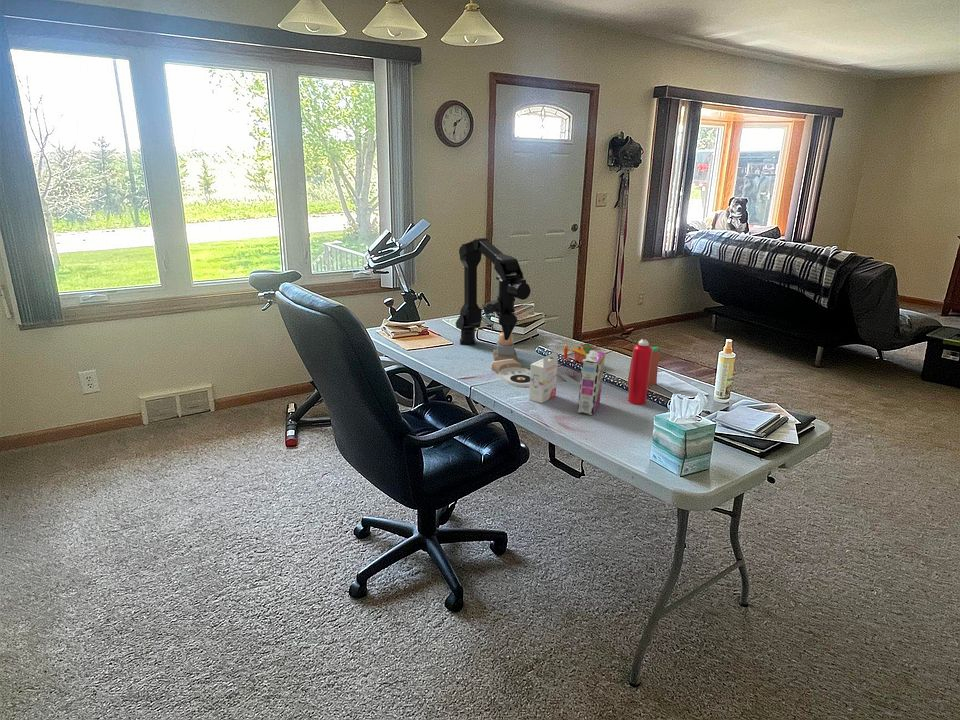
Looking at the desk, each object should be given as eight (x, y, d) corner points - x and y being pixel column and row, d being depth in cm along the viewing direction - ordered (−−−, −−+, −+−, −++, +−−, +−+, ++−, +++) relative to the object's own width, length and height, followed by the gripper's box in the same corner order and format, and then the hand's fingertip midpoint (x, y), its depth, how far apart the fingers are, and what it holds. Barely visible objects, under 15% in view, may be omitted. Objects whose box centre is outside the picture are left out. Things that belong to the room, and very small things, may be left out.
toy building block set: (631, 391, 186) (635, 350, 181) (558, 361, 213) (560, 324, 209) (656, 384, 193) (661, 344, 188) (582, 356, 220) (585, 320, 215)
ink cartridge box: (542, 391, 184) (545, 347, 179) (556, 395, 181) (559, 351, 177) (528, 399, 178) (530, 354, 173) (542, 403, 175) (544, 358, 170)
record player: (516, 357, 207) (546, 376, 190) (516, 366, 208) (545, 385, 191) (487, 362, 202) (515, 381, 185) (487, 370, 203) (515, 390, 186)
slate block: (496, 350, 214) (496, 341, 213) (512, 350, 215) (513, 341, 213) (497, 355, 209) (497, 346, 208) (514, 355, 209) (514, 346, 208)
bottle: (643, 398, 181) (650, 336, 174) (648, 404, 175) (655, 342, 169) (626, 397, 181) (632, 336, 174) (630, 404, 175) (637, 341, 169)
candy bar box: (594, 416, 167) (598, 363, 161) (577, 413, 168) (581, 360, 163) (601, 402, 177) (605, 351, 171) (584, 399, 178) (589, 349, 173)
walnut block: (493, 358, 216) (493, 349, 215) (514, 358, 217) (514, 349, 216) (494, 365, 209) (495, 356, 208) (516, 365, 209) (517, 356, 208)
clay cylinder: (498, 341, 213) (498, 331, 211) (512, 342, 213) (512, 331, 211) (499, 346, 208) (499, 335, 207) (512, 346, 208) (513, 335, 207)
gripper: (482, 288, 212) (481, 329, 218) (485, 299, 195) (484, 343, 200) (512, 288, 213) (511, 329, 218) (518, 300, 195) (516, 343, 200)
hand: (505, 336), depth 209 cm, fingers open, 9 cm apart
